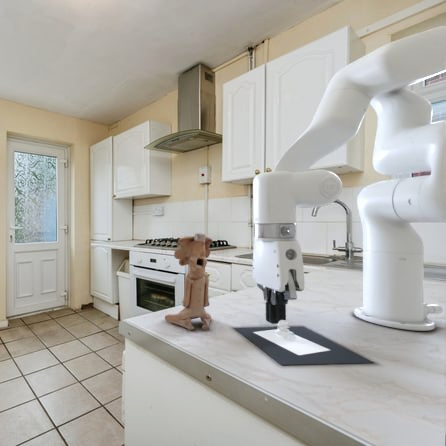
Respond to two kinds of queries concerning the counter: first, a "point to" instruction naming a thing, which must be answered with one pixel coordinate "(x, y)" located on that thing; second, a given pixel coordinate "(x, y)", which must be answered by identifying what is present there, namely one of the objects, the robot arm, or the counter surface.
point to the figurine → (193, 281)
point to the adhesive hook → (290, 340)
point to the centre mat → (287, 357)
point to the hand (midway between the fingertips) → (275, 321)
